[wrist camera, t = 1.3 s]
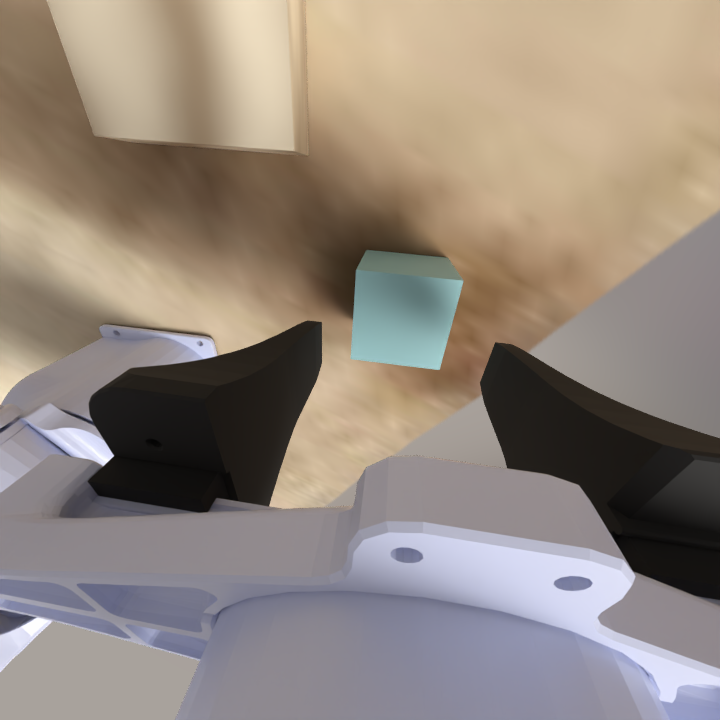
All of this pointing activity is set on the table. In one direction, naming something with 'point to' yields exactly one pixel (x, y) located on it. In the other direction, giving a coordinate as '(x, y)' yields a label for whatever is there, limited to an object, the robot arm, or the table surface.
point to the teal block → (403, 308)
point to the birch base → (191, 71)
